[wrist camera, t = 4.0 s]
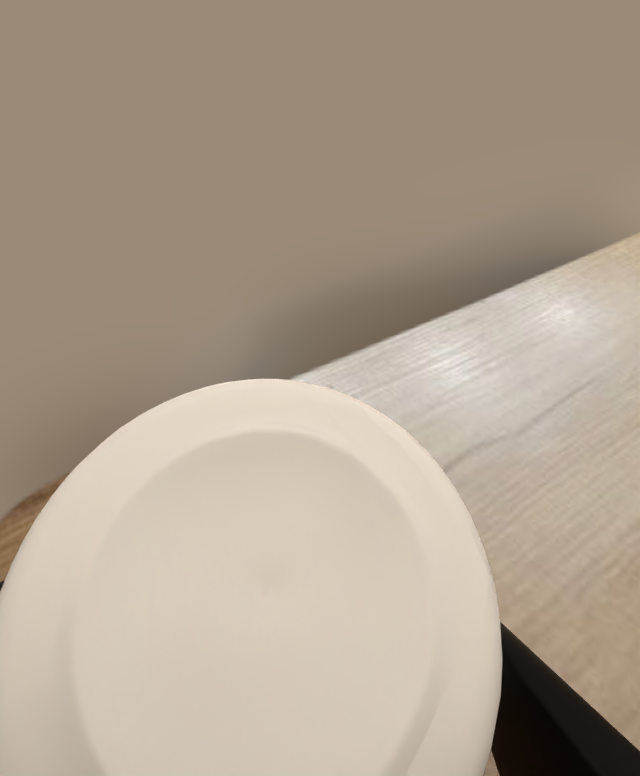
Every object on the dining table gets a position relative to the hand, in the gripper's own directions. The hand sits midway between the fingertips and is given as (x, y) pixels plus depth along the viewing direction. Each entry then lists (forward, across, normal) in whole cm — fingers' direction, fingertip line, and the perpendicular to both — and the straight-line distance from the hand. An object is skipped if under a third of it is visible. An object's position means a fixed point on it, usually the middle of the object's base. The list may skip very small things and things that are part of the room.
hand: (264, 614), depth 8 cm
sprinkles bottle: (+6, 0, +6) cm, 8 cm away
